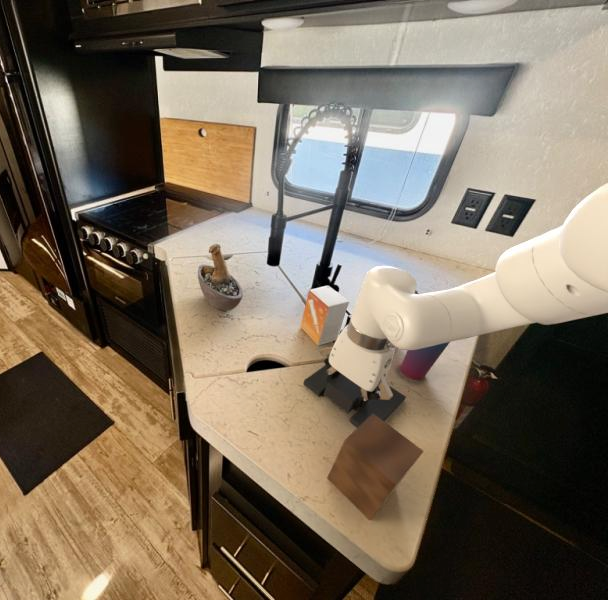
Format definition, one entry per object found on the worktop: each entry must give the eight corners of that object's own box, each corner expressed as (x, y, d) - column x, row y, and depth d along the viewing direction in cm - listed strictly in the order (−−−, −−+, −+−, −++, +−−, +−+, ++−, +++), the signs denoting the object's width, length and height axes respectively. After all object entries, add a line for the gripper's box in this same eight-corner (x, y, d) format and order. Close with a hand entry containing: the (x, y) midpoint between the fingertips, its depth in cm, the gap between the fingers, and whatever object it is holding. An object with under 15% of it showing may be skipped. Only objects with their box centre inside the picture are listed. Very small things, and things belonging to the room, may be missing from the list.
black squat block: (364, 399, 66) (370, 387, 64) (347, 413, 63) (353, 401, 61) (339, 381, 70) (344, 369, 68) (323, 394, 67) (327, 382, 65)
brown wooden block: (395, 488, 53) (423, 450, 46) (369, 520, 49) (396, 484, 42) (353, 451, 58) (373, 413, 51) (327, 477, 54) (344, 440, 47)
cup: (435, 378, 73) (466, 329, 64) (414, 386, 71) (443, 337, 62) (410, 358, 78) (435, 311, 69) (389, 365, 76) (413, 317, 67)
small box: (299, 327, 87) (308, 289, 80) (318, 322, 89) (328, 284, 82) (317, 346, 81) (328, 306, 74) (337, 340, 83) (350, 301, 76)
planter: (201, 286, 105) (200, 230, 93) (249, 295, 101) (255, 238, 89) (184, 311, 94) (181, 251, 82) (238, 323, 89) (243, 261, 78)
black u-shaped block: (403, 401, 67) (406, 396, 67) (368, 436, 61) (370, 432, 60) (339, 358, 78) (341, 353, 77) (303, 384, 71) (304, 379, 70)
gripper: (429, 351, 52) (392, 415, 63) (340, 302, 64) (321, 363, 74) (407, 371, 49) (372, 435, 59) (317, 316, 60) (301, 378, 70)
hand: (344, 395), depth 66 cm, fingers closed on black squat block, 6 cm apart
